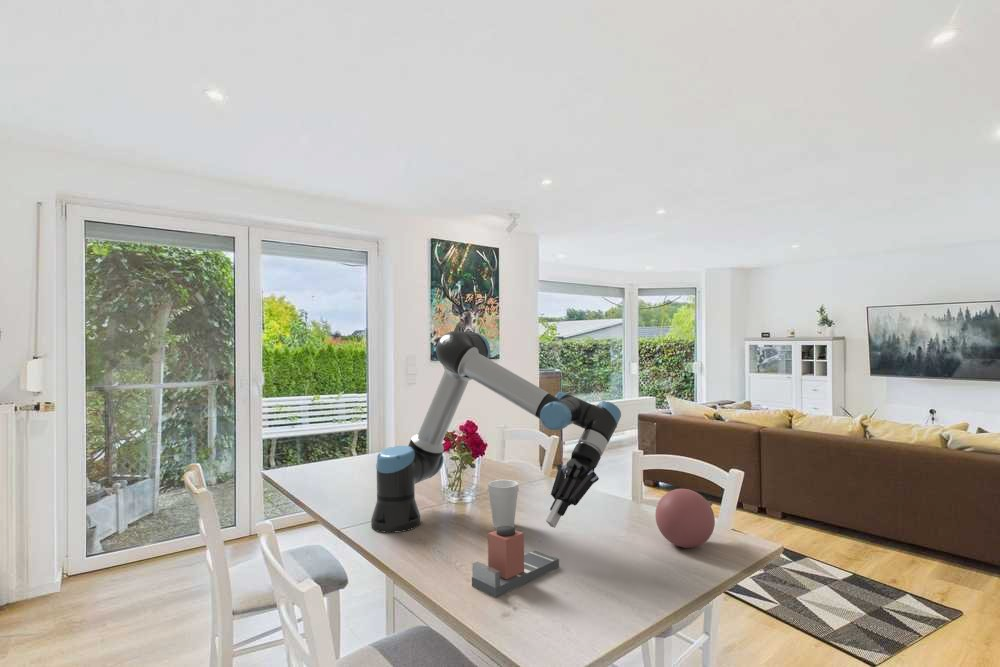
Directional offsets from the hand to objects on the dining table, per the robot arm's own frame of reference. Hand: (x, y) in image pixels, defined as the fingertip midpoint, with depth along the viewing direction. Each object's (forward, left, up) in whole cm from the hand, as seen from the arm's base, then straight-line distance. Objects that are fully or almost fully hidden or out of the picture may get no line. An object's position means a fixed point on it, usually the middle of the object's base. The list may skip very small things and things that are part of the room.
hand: (550, 524), depth 134 cm
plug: (-14, -8, -7) cm, 17 cm away
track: (-11, -6, -9) cm, 16 cm away
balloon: (+41, 0, -10) cm, 42 cm away
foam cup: (-5, +29, -10) cm, 31 cm away
